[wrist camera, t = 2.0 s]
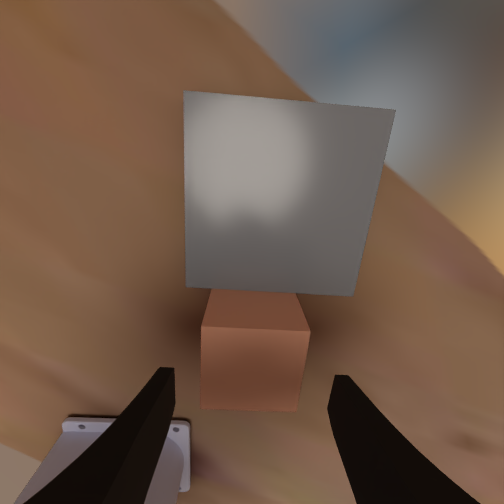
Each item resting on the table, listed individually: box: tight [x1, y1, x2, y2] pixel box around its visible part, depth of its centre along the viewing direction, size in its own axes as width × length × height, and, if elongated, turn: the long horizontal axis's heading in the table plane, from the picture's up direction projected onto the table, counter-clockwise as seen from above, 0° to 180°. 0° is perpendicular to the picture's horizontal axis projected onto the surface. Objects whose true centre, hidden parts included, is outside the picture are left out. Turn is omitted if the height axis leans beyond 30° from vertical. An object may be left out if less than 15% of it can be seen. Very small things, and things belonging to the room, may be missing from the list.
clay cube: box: [200, 289, 311, 412], centre depth 15 cm, size 5×5×5 cm
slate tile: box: [184, 90, 396, 296], centre depth 14 cm, size 10×10×1 cm
